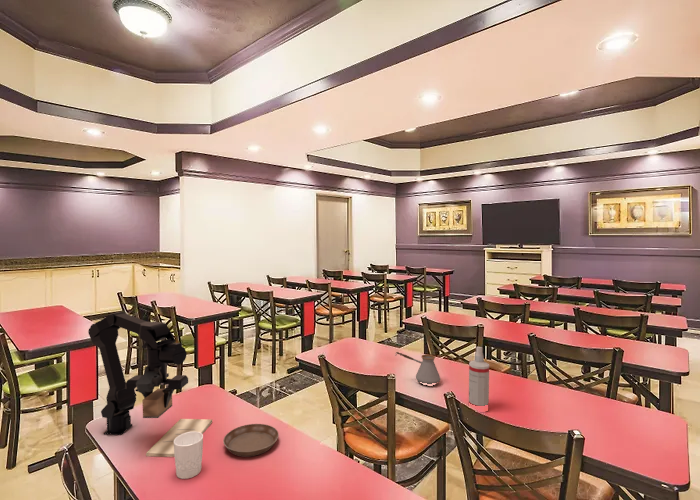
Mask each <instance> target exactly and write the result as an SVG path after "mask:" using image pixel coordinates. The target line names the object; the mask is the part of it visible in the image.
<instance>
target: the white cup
mask: <svg viewBox="0 0 700 500" xmlns="http://www.w3.org/2000/svg"><path fill="white" fill-rule="evenodd" d="M203 446H204V433H203V434H202V433H200V432H187V433H183V434H181V435H179V436H177V437H176V438H175V439H174V455H175V457H174V465H175V474H176V477H177V478H179V479H182V480H184V479H185V480H188V479H191V478H192V479H193V478H194V477H196V476H198V474H200V473H201V471H202V464H203V463H202V461H203V448H204V447H203Z"/></svg>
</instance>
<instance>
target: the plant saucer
mask: <svg viewBox="0 0 700 500" xmlns="http://www.w3.org/2000/svg"><path fill="white" fill-rule="evenodd" d="M279 436H280V435H279V431H278V430H277V428H275V427H274V426H272V425H270V424H269V425H268V424H264V423H251V424H245V425H239V426H238V427H236V428H235V427H234V428H233V429H232V430H230V431H229V432H227V434H225V435H224V438H223V445H224V447H225V448H226V449H227V451H229V452H230V453H232V454H233V455H235V456H238V457H244V458H245V457H246V458H249V457H255V456H259V455H262V454H264V453H266V452H267V451H269V450H270V449H271V448H272V447H273V446H274V444H276V442H277V440H278V439H279Z"/></svg>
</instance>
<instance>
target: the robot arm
mask: <svg viewBox="0 0 700 500" xmlns="http://www.w3.org/2000/svg"><path fill="white" fill-rule="evenodd" d="M119 329H124V330H126V331H129V332H130V333H131V332H132V333H134V334H137V335H138V337H139V339H141V341H143V342H144V343H143V344H142V345H141V348H142V349H146V361H147V363H146V364H147V365H146V366H145V367H144V370H143V371H144V372H143V374H141V375H140V374H139V375H137V374H136V375H134V376H132V377H130V378H129V379H127V381H126V377H125V375H124V371H123V367H122V363H121V359H120V356H119V352H118V349H117V345H116V343H117V341H118V337H119ZM87 332H88V336H89V338H90V340H91V343H93V344H94V346H95V347H96V348H98V349H99V353H100V355H101V361H102V364H103V368H104V371H105V372H104V373H105V375H106V380H107V385H108V391H107V394H106V404H105V406H104V407H103V408H102V409H101V411H100V413H101V416H102V418H104V419H106V430H105V431H104V432H103V435H118V436H120V435H123V434H124V433H125V432H127V430H129V429H130V428H131V427H133V423H131V421H132V419H131V414H130V411H131V410H134V408H135V405H136V404H135V403H136V402H137V393H140V394H141V395H142V396H143V399H144V398H146V397H147V396H149V395H150V394H151V393H153V392H154V389H155V388H156V387H157V388H158V387H160V386H165V388H162V389H163V390H162V391H163V393H164V407H165V408H166V407H167V406H168V403H169V401H170V398H171V396H172V397H173V393H174V391H175V390H181V389H183V388H184V387H185V386H187V385H188V384H189V377H188V376H187V375H186V374H183V375H181V374H180V375H179V374H178V375H174V376H173V377H172V378H168V377H169V375H170V373H168V372H167V368H168V367H167V366H168V365H169V364H170V365H176V366H179V365H182V364H183V363H184V362H185V360H186V359H187V351H186V348H185V347H183V346H182V343H181V342H176V341H177V340H176V338H175V336H174V335H173V333H172V332H171V330H170V328H169V326H168V324H167V323H165V322H161V321H148V320H147V321H146V320H144V319H141V318H138V317H135V316H133V315H130V314H127V313H126V311H125V312H124V311H117V312H112V313H111V312H110V314H109V315H107V316H105V317H104V318H102V319H100V320H98V321H96V322H95V323H92V324H91V325H90V327H89V328H88V331H87ZM136 392H137V393H136Z"/></svg>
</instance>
